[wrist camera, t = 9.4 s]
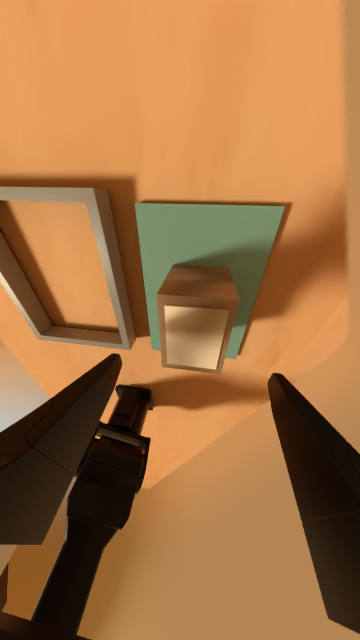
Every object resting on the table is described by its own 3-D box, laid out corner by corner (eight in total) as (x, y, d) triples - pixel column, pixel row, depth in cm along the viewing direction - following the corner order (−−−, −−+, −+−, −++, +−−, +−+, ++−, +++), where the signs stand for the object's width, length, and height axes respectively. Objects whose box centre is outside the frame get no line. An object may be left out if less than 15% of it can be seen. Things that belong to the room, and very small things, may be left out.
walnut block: (228, 267, 14) (239, 301, 9) (217, 329, 18) (220, 375, 14) (173, 264, 15) (155, 295, 10) (173, 325, 19) (161, 368, 14)
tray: (136, 339, 22) (130, 350, 20) (50, 329, 23) (38, 339, 21) (107, 189, 13) (93, 187, 11) (-32, 187, 14) (-64, 185, 12)
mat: (235, 356, 21) (235, 359, 21) (152, 347, 22) (152, 349, 22) (283, 206, 12) (285, 206, 11) (136, 202, 13) (134, 203, 13)
